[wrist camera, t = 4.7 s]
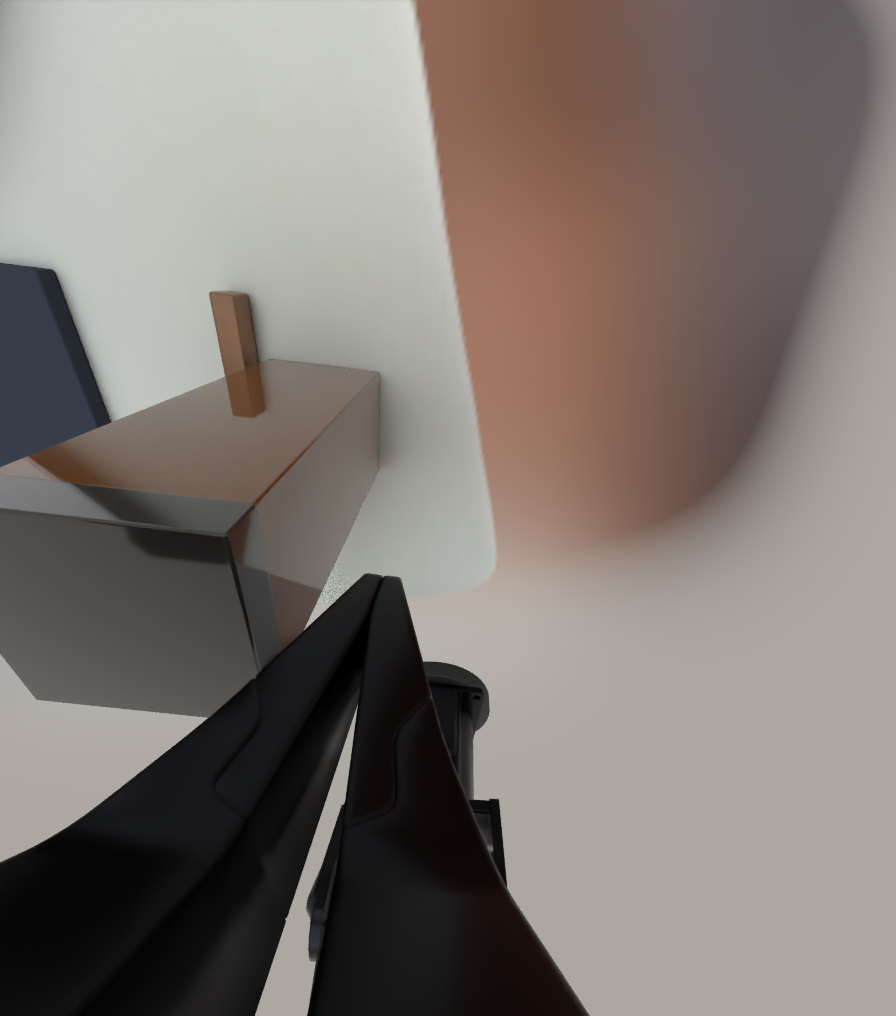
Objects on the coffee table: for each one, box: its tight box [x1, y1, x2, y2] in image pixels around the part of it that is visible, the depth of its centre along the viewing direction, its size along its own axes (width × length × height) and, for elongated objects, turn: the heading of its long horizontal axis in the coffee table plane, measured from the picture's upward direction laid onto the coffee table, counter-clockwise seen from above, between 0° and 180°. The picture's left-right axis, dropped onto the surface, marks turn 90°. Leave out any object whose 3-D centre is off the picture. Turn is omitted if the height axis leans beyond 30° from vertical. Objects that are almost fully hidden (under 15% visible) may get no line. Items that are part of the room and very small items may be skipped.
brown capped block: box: [0, 359, 380, 718], centre depth 13 cm, size 5×5×13 cm
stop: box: [209, 291, 258, 377], centre depth 18 cm, size 10×1×1 cm, turn 174°
